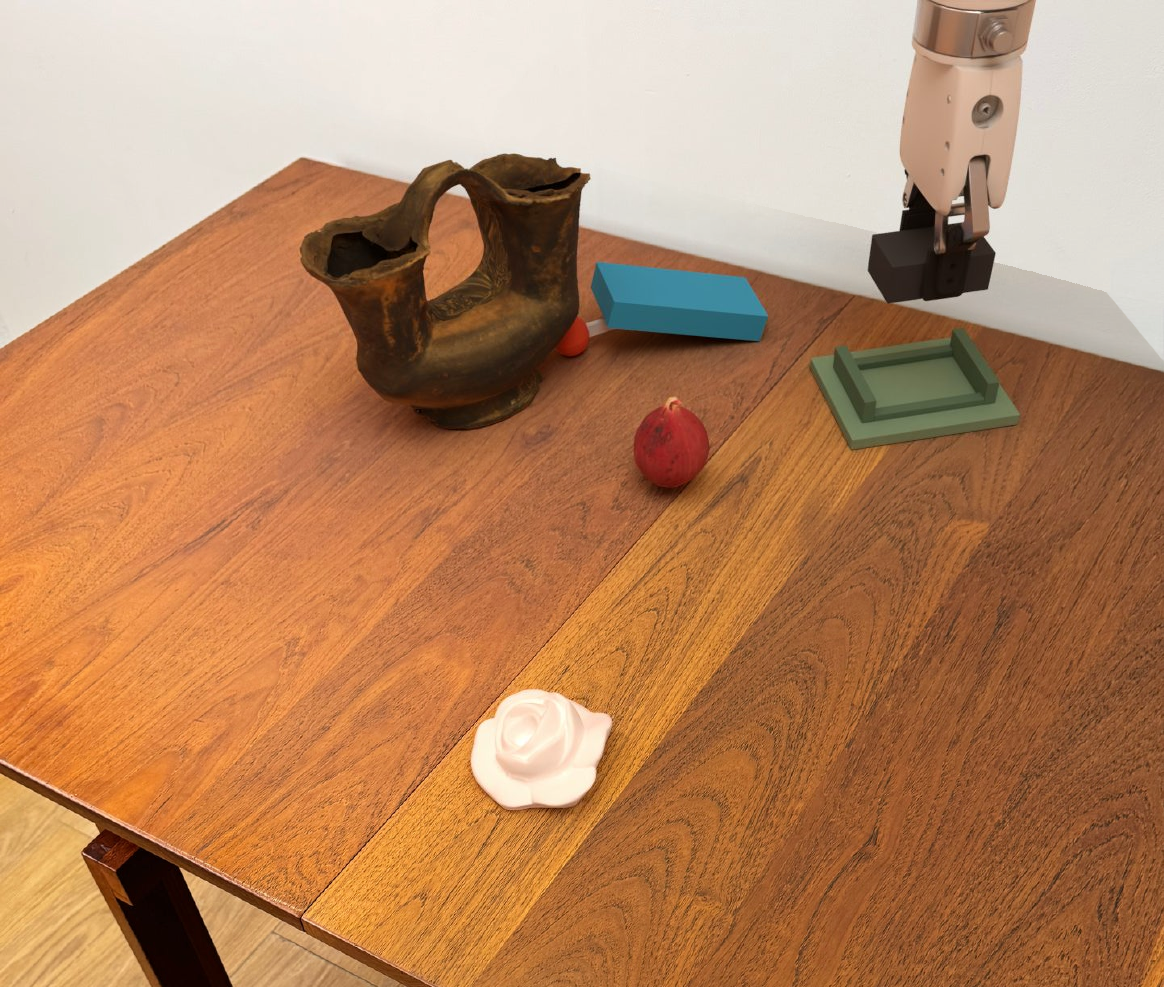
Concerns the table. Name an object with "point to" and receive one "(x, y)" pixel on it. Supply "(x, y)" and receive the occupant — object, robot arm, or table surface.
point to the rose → (539, 751)
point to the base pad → (912, 391)
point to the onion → (671, 445)
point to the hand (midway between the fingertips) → (928, 275)
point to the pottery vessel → (460, 289)
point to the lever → (668, 305)
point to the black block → (919, 263)
